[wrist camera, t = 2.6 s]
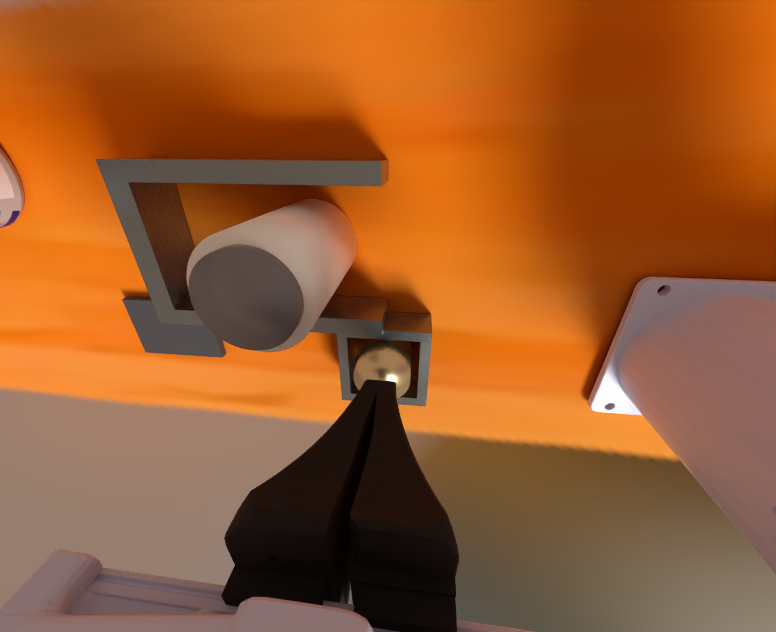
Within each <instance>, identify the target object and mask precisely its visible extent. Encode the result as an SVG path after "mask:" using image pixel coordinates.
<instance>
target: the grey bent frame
mask: <svg viewBox="0 0 776 632" xmlns="http://www.w3.org/2000/svg"><path fill="white" fill-rule="evenodd" d="M96 161H97V164H98V166H99V169H100V171H101V174H102V176H103V179H104V181H105V184H106V186H107V189H108V191H109V194H110V196H111V199H112V202H113V204H114V207H115V209H116V212H117V214H118V217H119V219H120V222H121V224H122V227H123V229H124V232H125V234H126V237H127V239H128V242H129V244H130V247H131V250H132V252H133V255H134V257H135V260H136V262H137V265H138V267H139V270H140V272H141V275H142V277H143V280H144V282H145V285H146V287H147V290H148V292H149V295H150V297H151V300H152V303H153V305H154V308H155V310H156V313H157V315H158V318H159V320H160V323H167V324H184V325H201V326H205V325H204V323H203V322H202V321H201V320H200V318H199V317H198V315H197V314H196V312H195V310H194V308H193V305H192V303H191V300H190V296H189V290H188V286H187V278H186V276H187V265H188V261H189V258H190V256H191V254H192V252H193V250H194V249H195V247H194V244H193V241H192V237H191V234H190V231H189V227H188V224H187V220H186V217H185V214H184V210H183V207H182V204H181V200H180V197H179V193H178V190H177V187H176V183H210V184H275V185H339V186H382V185H384V184H385V183H386V182H387V181H388V162H389V160H316V159H192V158H128V159H96ZM310 332H319V333H336V334H337V345H338V357H339V368H340V380H341V391H342V400H353V399H354V397H355V396H356V394H357V393H358V391H359V389H358V388H357V387H356V385H355V383H354V378H353V374H354V370H355V367H356V364H357V349H356V338H365V339H382V340H399V341H415V342H420V346H419V361H418V375H414V374H411V377H410V385H409V388H408V390H407V391H406V393H405V394H404V395H402V396H401V397H399V398H397V404H403V405H415V406H426V398H427V386H428V375H429V363H430V351H431V340H432V322H431V314H425V313H405V312H388V298H379V297H358V296H337V295H332V297H331V299H330V300H329V302H328V303H327V305H326V307H325V308H324V310H323V311H322V313H321V315H320V316H319V318H318V319H317V321H316V323H315V324H314V326H313V327H312V329H311V330H310Z"/></svg>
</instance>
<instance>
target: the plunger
mask: <svg viewBox="0 0 776 632" xmlns="http://www.w3.org/2000/svg"><path fill="white" fill-rule="evenodd" d="M411 360H412V347H411V344H410V342H409V341H399V340H382V339H365V340H364V342H363V345H362V348H361V351H360V354H359V357H358V361H357V364H356V367H355V370H354V374H353V378H354V383H355V385H356V387H357V388H358V389H359V390H360V388H361V387H362V385H363V383H364V381H365V380H367V379H371V380H384V381H394V382H395V383H396V397H397V398H399V397H401V396H402V395H404V394H405V393H406V391H407V390H408V388H409V385H410V377H411Z"/></svg>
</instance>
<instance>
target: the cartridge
mask: <svg viewBox="0 0 776 632" xmlns="http://www.w3.org/2000/svg"><path fill="white" fill-rule="evenodd" d="M356 253H357V237H356V233H355V230H354V227H353V225H352V224H351V222H350V220H349V219H348V217H347V216H346V215H345V214H344V213H343V212H342V211H341V210H340V209H339V208H337V207H336V206H335V205H333V204H331V203H329V202H326V201H324V200H319V199H304V200H300V201H298V202H295V203H292V204H290V205H287V206H284V207H282V208H279V209H277V210H274V211H271V212H269V213H266V214H264V215H261V216H258V217H256V218H253V219H251V220H248V221H245V222H243V223H240V224H238V225H235V226H232V227H230V228H227V229H225V230H222V231H219V232H217V233H214V234H212V235H210V236H208V237H206V238H205V239H203V240H202V241H201V242H200V243H199V244H198V245H197V246H196V247H195V249H194V250H193V252H192V254H191V256H190V258H189V261H188V265H187V276H186V278H187V286H188V290H189V296H190V300H191V303H192V305H193V308H194V310H195V312H196V314H197V315H198V317H199V318H200V320H201V321H202V322H203V323H204V325H205V326H206V327H207V328H208V329H209V330H210V331H211V332H213V333H214V334H215V335H216V336H218V337H219V338H221V339H222V340H224V341H226V342H227V343H229V344H232V345H234V346H237V347H240V348H243V349H248V350H255V351H261V352H275V351H281V350H285V349H288V348H291V347H293V346H295V345H296V344H298V343H299V342H301V341H302V340H303V339H304V338H305V337H306V336H307V335H308V333H309V332H310V330H311V329H312V327H313V326H314V324H315V323H316V321H317V319H318V318H319V316H320V315H321V313H322V311H323V310H324V308H325V307H326V305H327V303H328V302H329V300H330V299H331V297H332V295H333V294H334V292H335V291H336V289H337V288H338V286H339V284H340V283H341V281H342V280H343V278H344V276H345V275H346V273H347V272H348V270H349V268H350V267H351V265H352V264H353V262H354V260H355V257H356Z"/></svg>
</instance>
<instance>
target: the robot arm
mask: <svg viewBox="0 0 776 632" xmlns="http://www.w3.org/2000/svg"><path fill="white" fill-rule="evenodd" d="M663 285H665V287H664V288H663V290H661V291H660V292H657V291H658V289H659V288H660V287H661V286H663ZM608 403H610V404H608ZM606 404H607V405H606ZM588 405H589V407H590V408H591V409H592V410H593V411H596V412H607V413H620V414H634V415H643V416H644V417H645V419H646V420H647V421H648V422H649V423H650V425H651V426H652V427H653V428H654V429H655V431H656V432H657V433H658V434H659V435H660V437H661V438H662V439H663V440H664V441H665V443H666V444H667V445H668V446H669V447H670V449H671V450H672V451H673V452H674V453H675V455H676V456H677V457H678V458H679V459H680V460H681V462H682V463H683V464H684V465H685V466H686V468H687V469H688V470H689V471H690V472H691V474H692V475H693V476H694V477H695V478H696V480H697V481H698V482H699V483H700V484H701V485H702V487H703V488H704V489H705V490H706V492H707V493H708V494H709V495H710V496H711V498H712V499H713V500H714V501H715V502H716V504H717V505H718V506H719V507H720V508H721V510H722V511H723V512H724V513H725V514H726V516H727V517H728V518H729V519H730V520H731V521H732V522H733V524H734V525H735V526H736V527H737V529H738V530H739V531H740V532H741V533H742V534H743V536H744V537H745V538H746V539H747V541H748V542H749V543H750V544H751V545H752V547H753V548H754V549H755V550H756V551H757V553H758V554H759V555H760V556H761V557H762V559H763V560H764V561H765V562H766V563H767V565H768V566H769V567H770V568H771V569H772V571H773V572H774V573H775V574H776V281H751V280H726V279H700V278H674V277H646V278H644V279H642V280H641V281H639V282H638V283H637V285H636V287H635V289H634V291H633V294H632V296H631V299H630V301H629V303H628V306H627V308H626V311H625V313H624V315H623V318H622V320H621V323H620V325H619V327H618V330H617V332H616V335H615V337H614V339H613V342H612V344H611V347H610V349H609V351H608V354H607V356H606V359H605V361H604V363H603V366H602V368H601V371H600V373H599V375H598V378H597V380H596V383H595V385H594V387H593V390H592V392H591V395H590V397H589V399H588ZM224 539H225V543H226V546H227V548H228V551H229V553H230V555H231V557H232V559H233V562H234V564H235V566H234V568H233V571H232V573H231V575H230V577H229V579H228V581H227V584H226V586H223V585H216V584H209V583H203V582H196V581H189V580H182V579H176V578H169V577H162V576H156V575H149V574H142V573H136V572H129V571H122V570H116V569H109V568H103V567H102V564H101V563H100V561H99V560H98V559H97V558H95V557H94V556H92V555H90V554H85V553H80V552H73V551H66V550H55V551H54V552H53V553H52V554H51V555H50V556H49V557H48V558H47V560H46V561H45V562H44V563H43V564H42V565H41V566H40V567H39V568H38V569H37V570H36V571H35V572H34V573H33V575H32V576H31V577H30V578H29V579H28V580H27V581H26V582H25V583H24V584H23V585H22V586H21V587H20V588H19V589H18V591H17V592H16V593H15V594H14V595H13V596H12V597H11V598H10V599H9V600H8V601H7V602H6V603H5V604H4V605H3V607H2V608H1V609H0V632H533V631H527V630H519V629H513V628H506V627H500V626H493V625H486V624H479V623H472V622H466V621H459V620H456V604H455V597H456V584H455V576H456V571H457V567H458V563H459V554H458V548H457V543H456V539H455V536H454V533H453V530H452V526H451V524H450V521H449V518H448V515H447V513H446V511H445V509H444V508H443V506H442V505H441V503H440V502H439V500H438V499H437V497H436V496H435V494H434V492H433V491H432V489H431V487H430V485H429V484H428V482H427V481H426V479H425V476H424V474H423V472H422V471H421V469H420V467H419V465H418V463H417V461H416V458H415V456H414V454H413V452H412V449H411V447H410V445H409V442H408V439H407V436H406V433H405V430H404V427H403V424H402V421H401V417H400V413H399V409H398V404H397V397H396V383H395V382H394V381H384V380H371V379H367V380H365V381H364V383H363V385H362V387H361V388H360V390H359V391H358V393H357V394H356V396H355V397H354V399H353V400H352V402H351V403H350V404H349V406H348V407H347V408H346V410H345V411H344V412H343V413H342V415H341V416H340V417H339V418H338V419H337V421H336V422H335V423H334V424H333V425H332V426H331V427H330V429H329V430H328V431H327V432H326V433H325V434H324V435H323V436H322V437H321V438H320V439H319V440H318V441H317V442H316V443H315V444H314V445H313V446H311V447H310V448H309V449H308V450H307V451H306V452H305V453H303V454H302V455H301V456H300V457H299V458H297V459H296V460H295V461H294V462H292V463H291V464H290V465H288V466H287V467H286V468H284V469H283V470H282V471H280V472H279V473H278V474H276V475H275V476H273V477H272V478H270V479H269V480H267V481H266V482H264V483H263V484H261V485H259V486H258V487H256V488H255V489H253V490H251V491H250V493H249V494H248V496H247V497H246V499H245V500H244V502H243V503H242V505H241V506H240V508H239V509H238V511H237V513H236V515H235V517H234V519H233V520H232V522H231V524H230V526H229V528H228V530H227V532H226V535H225V538H224ZM350 585H351V591H352V600H353V605H351V604H348V599H349V592H350Z"/></svg>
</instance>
